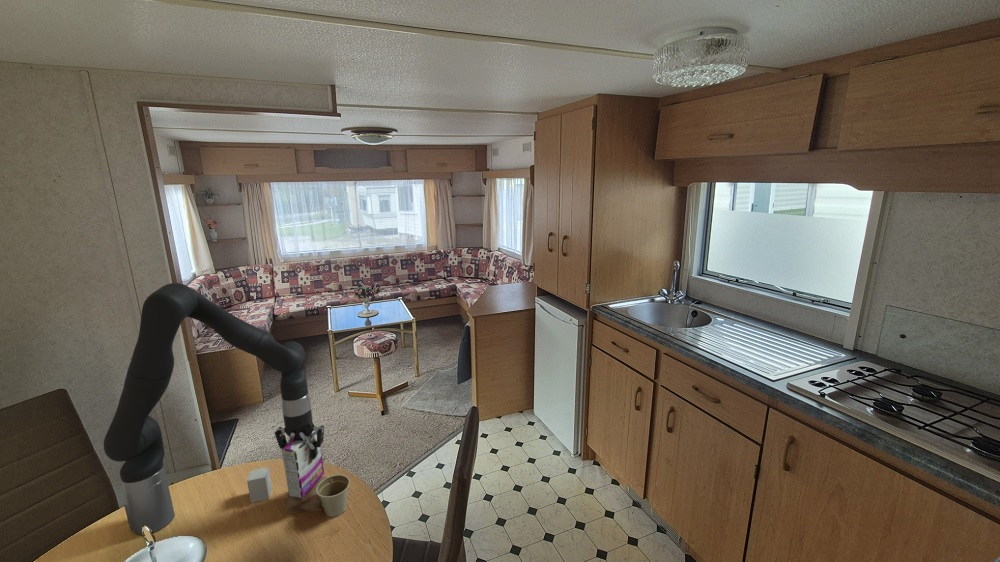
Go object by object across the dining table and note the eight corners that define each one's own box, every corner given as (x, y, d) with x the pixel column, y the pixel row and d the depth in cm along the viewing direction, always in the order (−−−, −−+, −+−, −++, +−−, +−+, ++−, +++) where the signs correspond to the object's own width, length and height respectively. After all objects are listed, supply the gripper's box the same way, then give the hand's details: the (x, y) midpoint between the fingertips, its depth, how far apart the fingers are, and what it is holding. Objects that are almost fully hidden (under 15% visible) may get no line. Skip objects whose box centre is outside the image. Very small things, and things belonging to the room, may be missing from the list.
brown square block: (286, 512, 125) (284, 501, 124) (299, 488, 135) (298, 478, 134) (320, 511, 126) (318, 499, 125) (331, 487, 135) (329, 476, 134)
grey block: (251, 502, 129) (247, 480, 127) (254, 491, 134) (250, 470, 132) (268, 499, 130) (265, 477, 129) (271, 488, 135) (268, 467, 133)
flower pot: (324, 527, 120) (321, 502, 118) (315, 508, 127) (312, 483, 125) (357, 511, 125) (354, 486, 123) (346, 493, 133) (343, 470, 130)
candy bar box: (311, 471, 135) (305, 427, 131) (324, 474, 134) (319, 428, 130) (287, 496, 124) (280, 448, 120) (302, 499, 123) (295, 451, 119)
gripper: (265, 416, 118) (273, 467, 122) (317, 414, 119) (323, 465, 123) (277, 403, 126) (284, 451, 130) (326, 401, 127) (331, 449, 131)
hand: (303, 458), depth 126 cm, fingers closed on candy bar box, 5 cm apart
